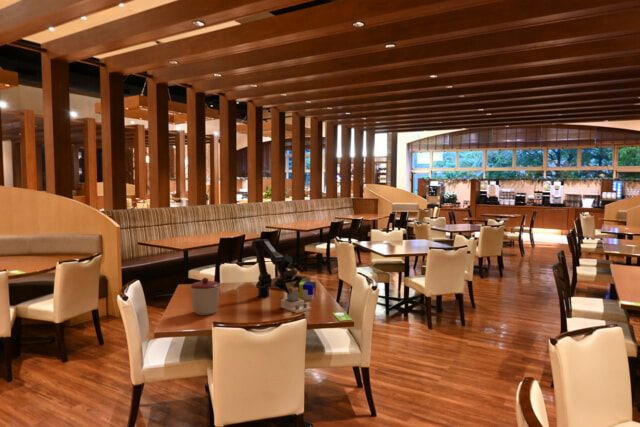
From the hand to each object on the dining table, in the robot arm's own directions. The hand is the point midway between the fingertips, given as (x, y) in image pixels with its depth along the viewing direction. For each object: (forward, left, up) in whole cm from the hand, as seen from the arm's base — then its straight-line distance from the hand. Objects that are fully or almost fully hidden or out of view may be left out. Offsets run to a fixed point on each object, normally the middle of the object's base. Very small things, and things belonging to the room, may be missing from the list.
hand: (294, 292), depth 274 cm
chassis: (+2, -1, -10) cm, 10 cm away
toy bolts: (-27, +55, -10) cm, 62 cm away
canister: (-42, -32, -10) cm, 54 cm away
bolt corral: (-29, +52, -10) cm, 60 cm away
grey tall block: (-1, +1, -8) cm, 8 cm away
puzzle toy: (-3, +26, -10) cm, 28 cm away
